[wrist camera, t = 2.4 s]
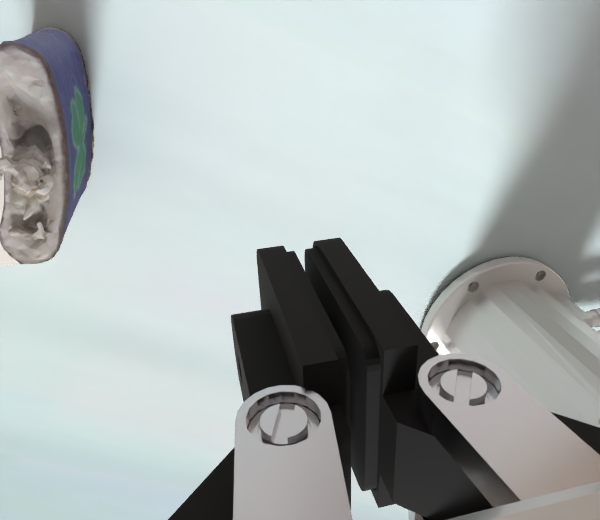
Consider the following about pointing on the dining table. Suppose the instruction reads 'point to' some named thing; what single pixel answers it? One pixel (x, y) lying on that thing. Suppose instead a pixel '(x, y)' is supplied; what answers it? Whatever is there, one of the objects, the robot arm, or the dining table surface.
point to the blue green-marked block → (42, 141)
